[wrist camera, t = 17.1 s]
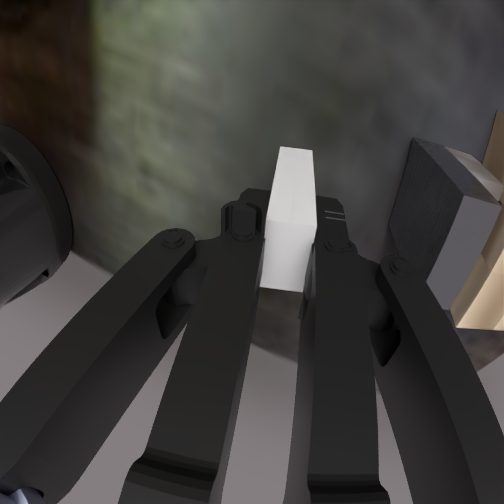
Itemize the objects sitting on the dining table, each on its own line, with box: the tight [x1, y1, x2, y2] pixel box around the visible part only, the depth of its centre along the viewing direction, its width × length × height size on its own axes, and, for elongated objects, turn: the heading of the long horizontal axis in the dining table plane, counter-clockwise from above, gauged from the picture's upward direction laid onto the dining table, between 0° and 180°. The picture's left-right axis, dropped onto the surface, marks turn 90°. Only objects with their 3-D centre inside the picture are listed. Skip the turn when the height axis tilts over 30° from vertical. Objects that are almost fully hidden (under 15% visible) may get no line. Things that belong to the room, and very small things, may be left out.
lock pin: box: [388, 138, 502, 310], centre depth 13 cm, size 8×6×7 cm, turn 86°
